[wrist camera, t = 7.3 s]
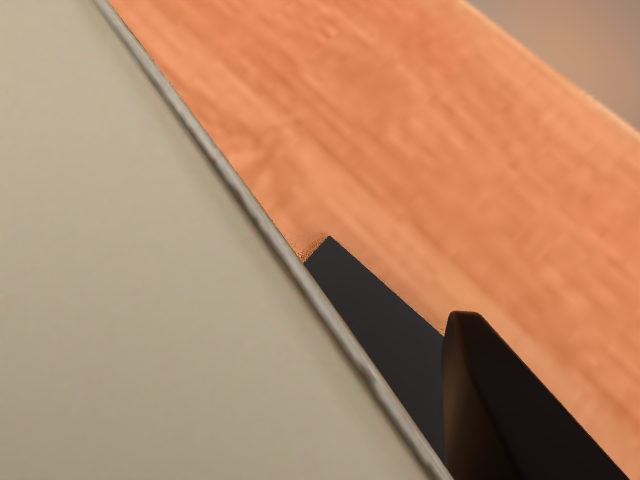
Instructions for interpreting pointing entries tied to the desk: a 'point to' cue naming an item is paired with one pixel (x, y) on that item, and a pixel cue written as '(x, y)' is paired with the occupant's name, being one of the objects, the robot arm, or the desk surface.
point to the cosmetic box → (159, 288)
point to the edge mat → (387, 336)
